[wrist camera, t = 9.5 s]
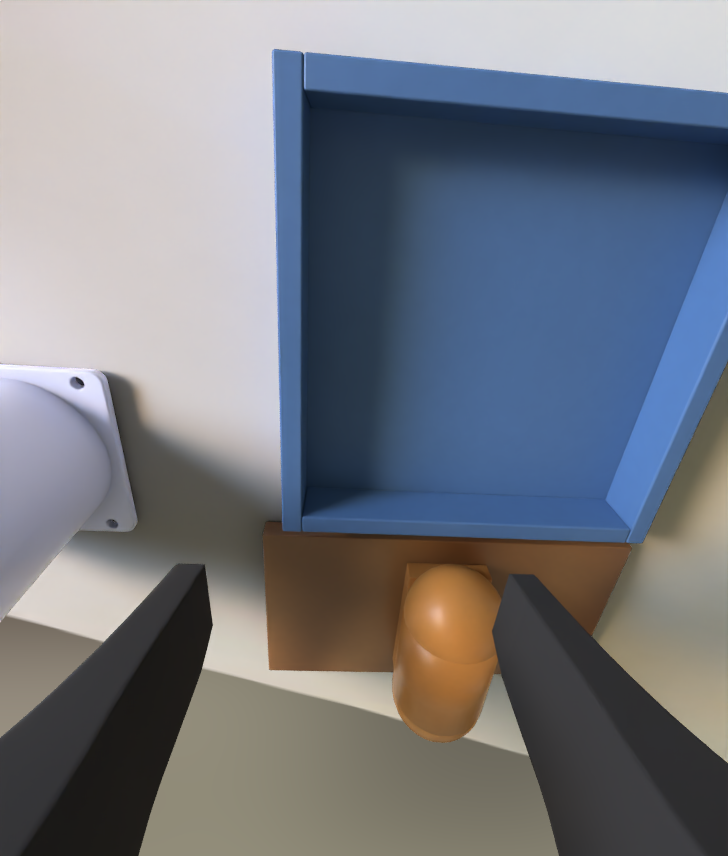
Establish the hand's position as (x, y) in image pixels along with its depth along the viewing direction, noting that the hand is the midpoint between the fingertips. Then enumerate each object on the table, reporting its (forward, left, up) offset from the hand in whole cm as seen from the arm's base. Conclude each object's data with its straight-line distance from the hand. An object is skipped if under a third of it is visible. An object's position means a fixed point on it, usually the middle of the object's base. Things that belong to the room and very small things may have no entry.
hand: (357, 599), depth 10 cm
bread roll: (+5, -11, -8) cm, 14 cm away
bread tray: (+5, +4, -9) cm, 11 cm away
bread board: (+5, -11, -9) cm, 15 cm away
